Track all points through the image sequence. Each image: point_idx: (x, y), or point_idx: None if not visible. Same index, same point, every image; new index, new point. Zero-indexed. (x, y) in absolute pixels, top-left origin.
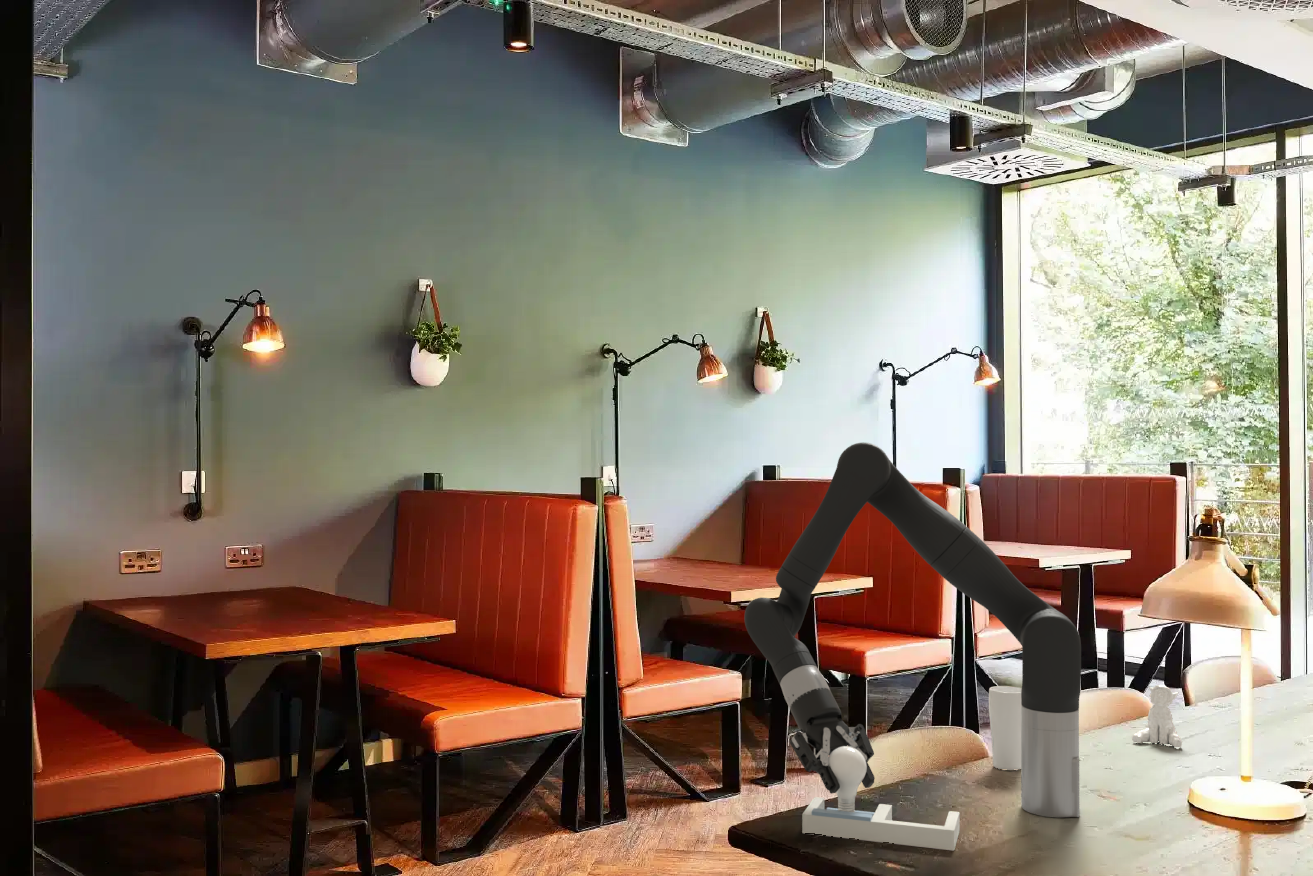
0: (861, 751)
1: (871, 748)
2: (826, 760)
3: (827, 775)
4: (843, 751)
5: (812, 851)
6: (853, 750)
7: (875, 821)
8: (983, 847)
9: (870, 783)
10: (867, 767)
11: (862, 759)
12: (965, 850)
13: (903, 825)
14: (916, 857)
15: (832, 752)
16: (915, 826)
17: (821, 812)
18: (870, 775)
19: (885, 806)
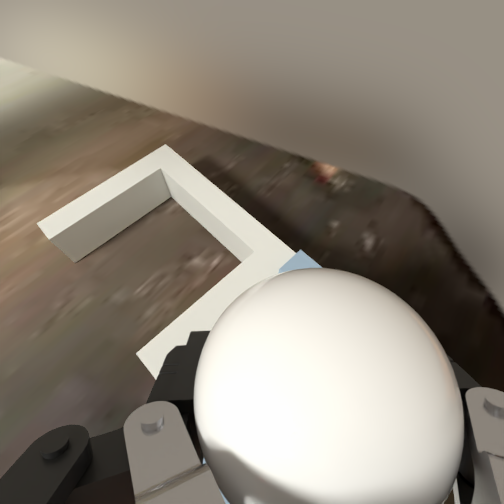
0: (133, 461)
1: (8, 478)
2: (489, 415)
3: (452, 367)
4: (401, 324)
5: (458, 278)
6: (318, 301)
7: (286, 249)
8: (112, 168)
9: None
10: (180, 370)
11: (265, 280)
12: None
13: (237, 205)
14: (262, 176)
15: (456, 438)
16: (218, 189)
17: None
18: (195, 342)
19: (165, 350)
